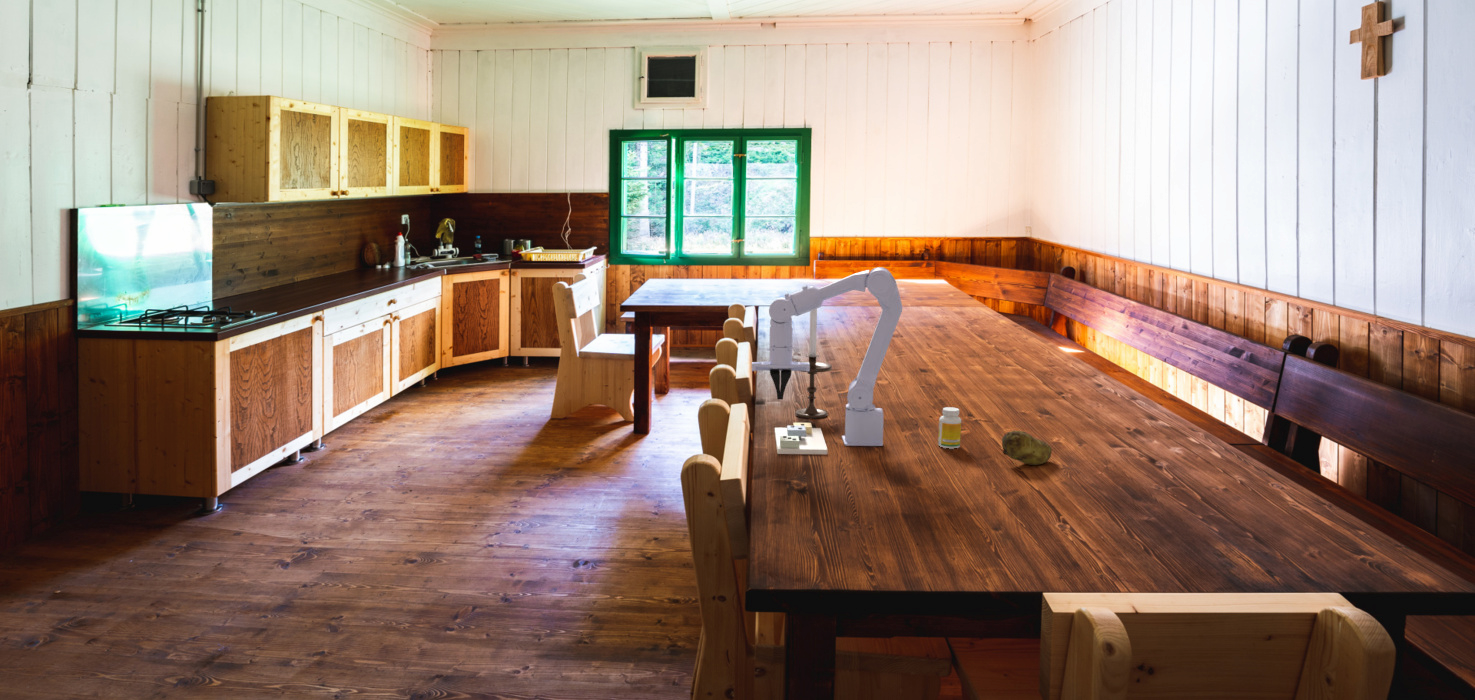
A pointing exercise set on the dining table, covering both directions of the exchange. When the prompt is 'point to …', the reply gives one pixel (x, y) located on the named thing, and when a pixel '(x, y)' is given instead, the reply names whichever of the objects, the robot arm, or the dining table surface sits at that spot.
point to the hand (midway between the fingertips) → (780, 398)
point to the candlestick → (813, 373)
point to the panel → (803, 443)
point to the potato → (1025, 448)
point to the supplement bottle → (949, 428)
